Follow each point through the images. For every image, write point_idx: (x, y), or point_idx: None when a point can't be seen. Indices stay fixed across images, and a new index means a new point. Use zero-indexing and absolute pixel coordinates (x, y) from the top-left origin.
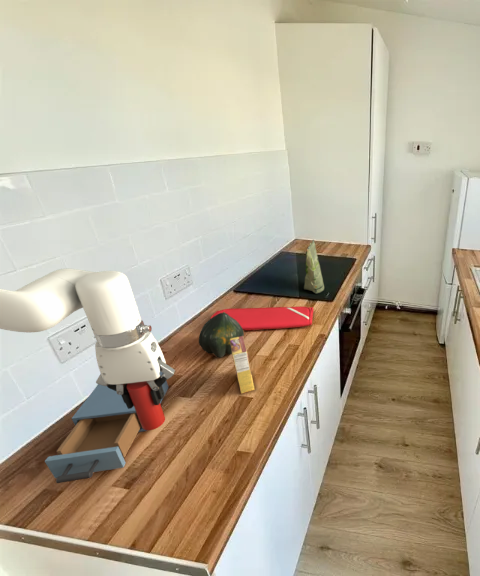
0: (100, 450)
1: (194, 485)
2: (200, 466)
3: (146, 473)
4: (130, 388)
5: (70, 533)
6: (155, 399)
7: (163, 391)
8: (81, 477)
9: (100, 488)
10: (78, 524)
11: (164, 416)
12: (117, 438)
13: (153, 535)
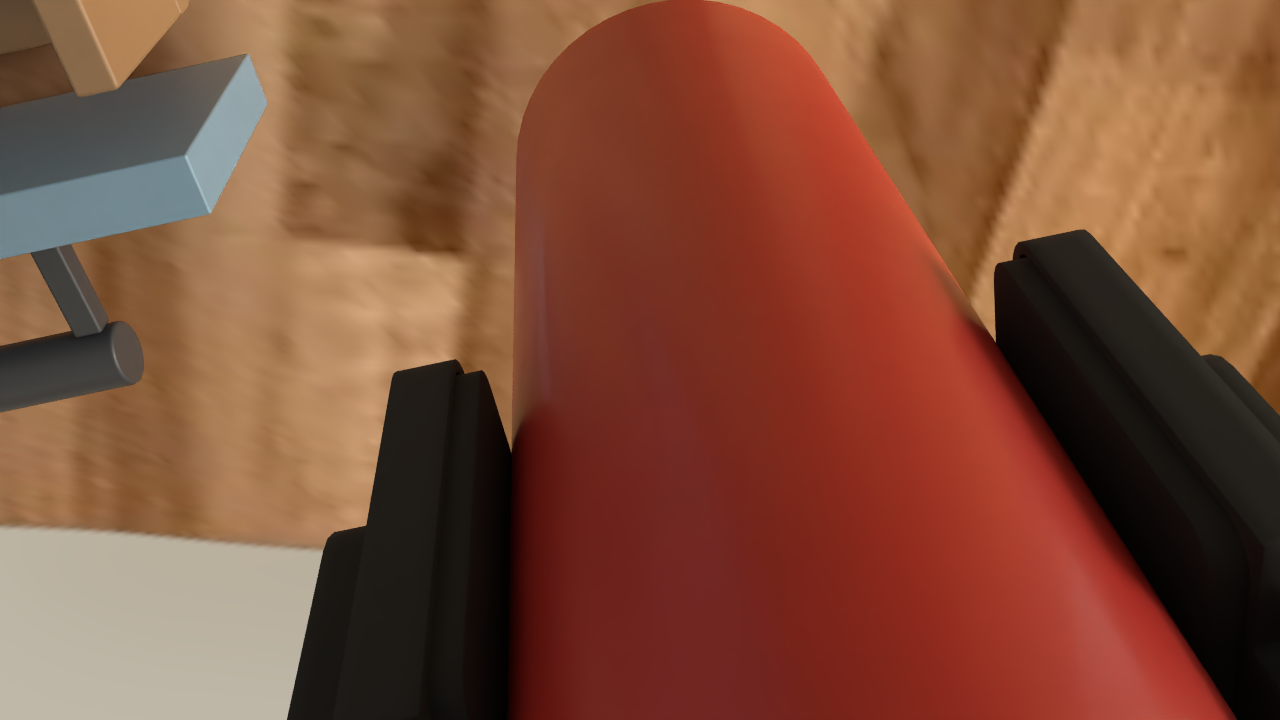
0: (20, 217)
1: (999, 213)
2: (998, 35)
3: (515, 117)
4: None
5: (293, 535)
6: None
7: (1262, 413)
8: (75, 395)
9: (207, 259)
10: (293, 490)
11: (830, 85)
12: (53, 27)
13: None
